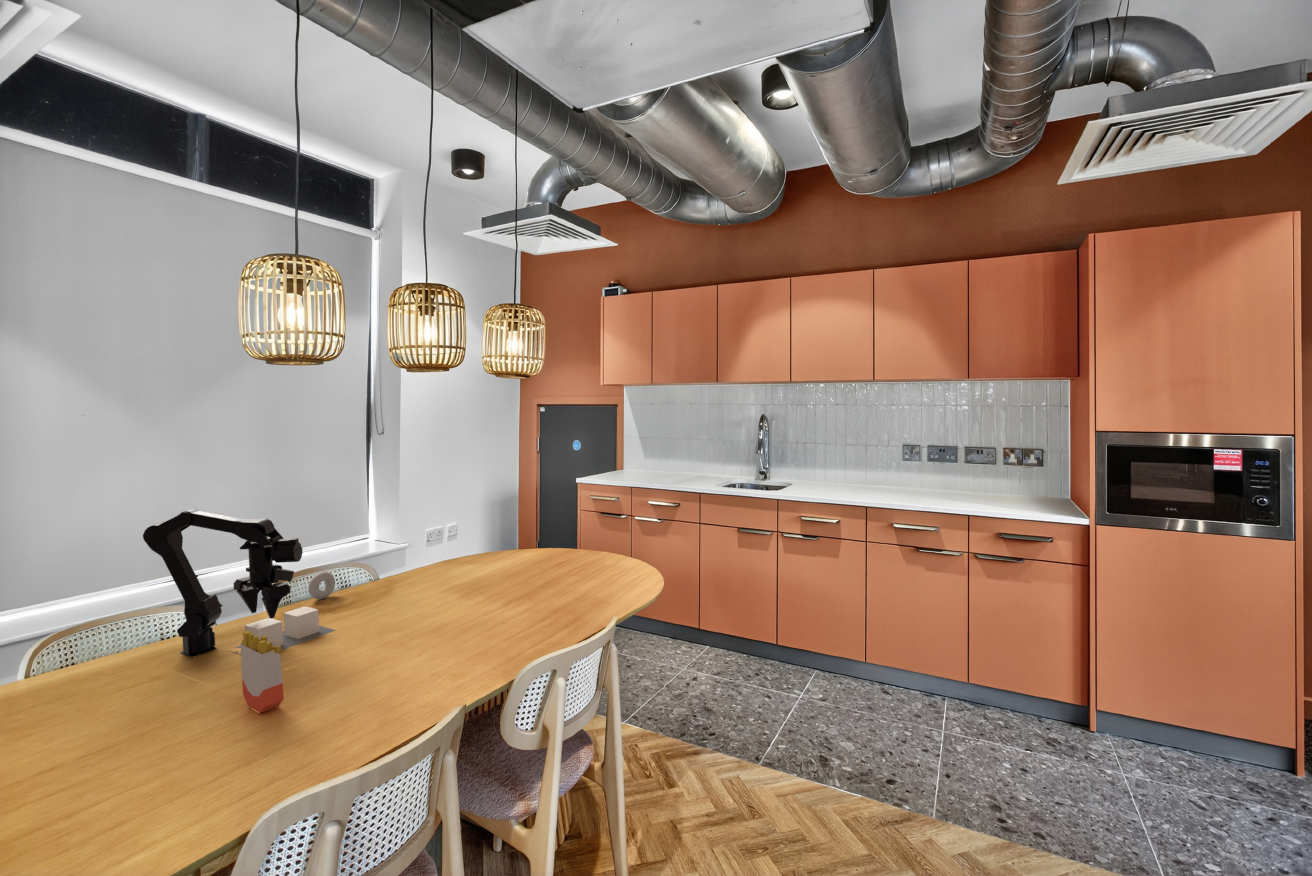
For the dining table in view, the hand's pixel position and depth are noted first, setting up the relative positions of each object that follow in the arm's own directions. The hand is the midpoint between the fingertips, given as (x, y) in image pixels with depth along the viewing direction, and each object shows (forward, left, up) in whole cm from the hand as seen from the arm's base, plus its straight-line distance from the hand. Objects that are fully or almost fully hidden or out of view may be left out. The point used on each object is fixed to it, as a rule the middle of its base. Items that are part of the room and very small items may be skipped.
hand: (262, 615), depth 172 cm
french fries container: (-19, -35, -10) cm, 41 cm away
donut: (+35, +26, -10) cm, 44 cm away
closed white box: (+11, 0, -9) cm, 14 cm away
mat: (+6, 0, -10) cm, 11 cm away
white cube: (0, 0, -9) cm, 9 cm away
